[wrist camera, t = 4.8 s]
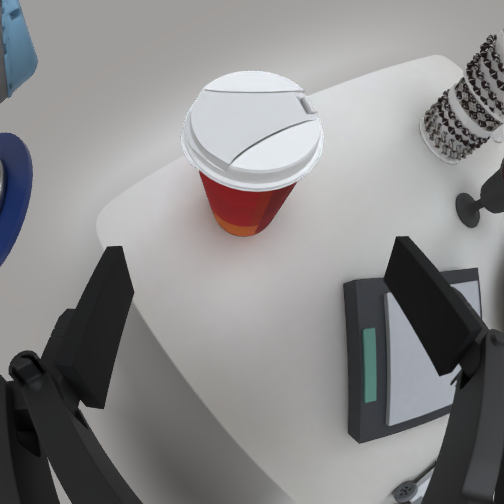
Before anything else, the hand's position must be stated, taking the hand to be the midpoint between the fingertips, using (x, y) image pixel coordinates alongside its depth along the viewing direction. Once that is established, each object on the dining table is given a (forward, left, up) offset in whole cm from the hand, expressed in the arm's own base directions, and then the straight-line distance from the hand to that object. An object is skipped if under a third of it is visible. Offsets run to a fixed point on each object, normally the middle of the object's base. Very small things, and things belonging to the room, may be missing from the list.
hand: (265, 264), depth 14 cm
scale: (+18, -8, -15) cm, 24 cm away
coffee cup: (0, +8, -15) cm, 17 cm away
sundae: (+30, +8, -15) cm, 34 cm away
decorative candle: (+29, +19, -15) cm, 38 cm away
